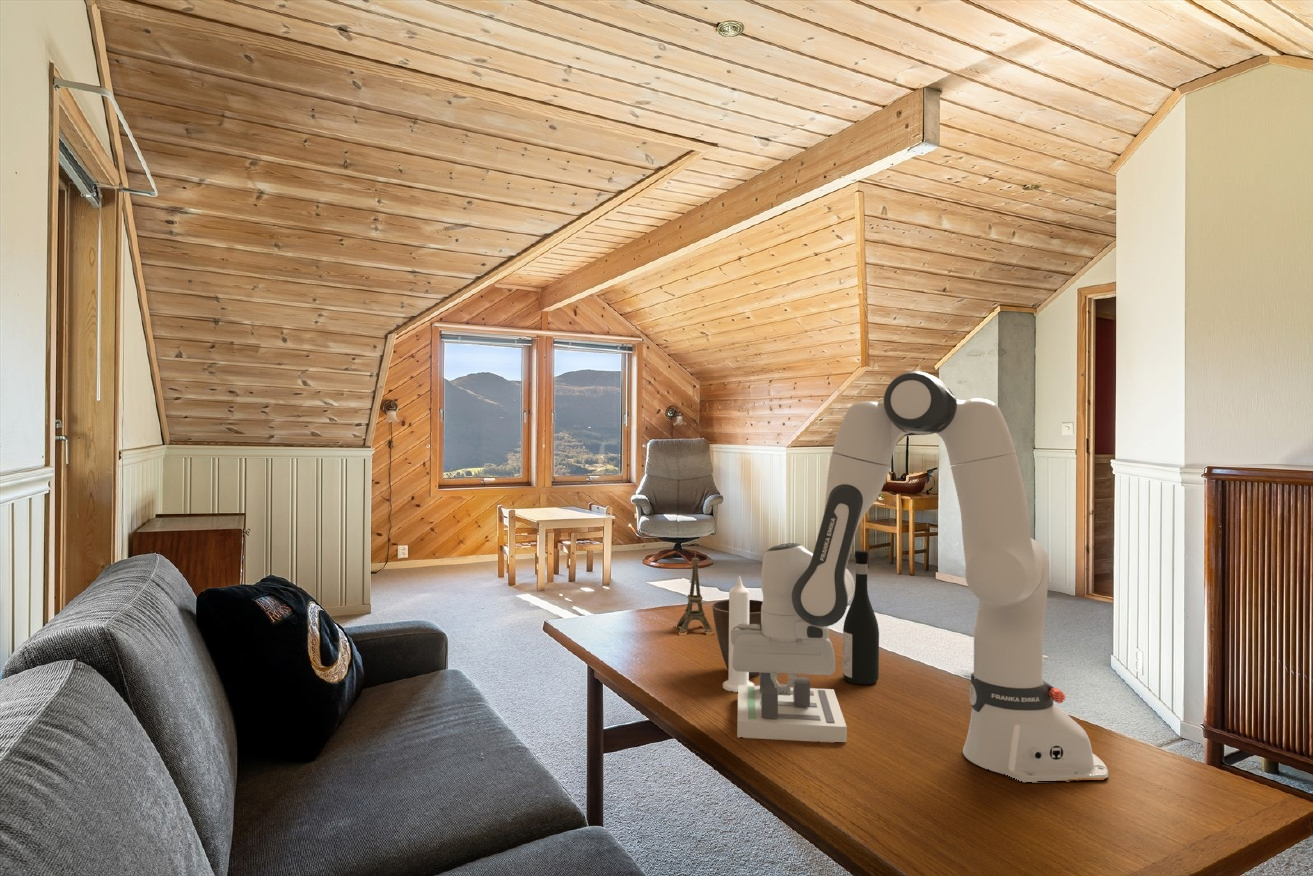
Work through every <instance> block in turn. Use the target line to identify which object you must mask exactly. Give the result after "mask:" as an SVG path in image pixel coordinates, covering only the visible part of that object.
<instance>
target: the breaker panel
mask: <svg viewBox="0 0 1313 876" xmlns="http://www.w3.org/2000/svg"><path fill="white" fill-rule="evenodd" d="M846 723H847V722H846V721H845V717H844V715H843V712H842V709H841V707H840V704H839V701H838V698H837V695H836V693H835V688H834V689H833V688H832V689H831V688H813V687H810V706H794V701H793V686H791V687H790V696H786V695H778V718H773V717H762V715H761V692H760V685H754V686H749V685H738V693H737V729H736V732H737V733H736V734H737V735H736V737H737V738H740V737H743V739H763V740H781V741H782V740H783V741H800V742H818V741H819V742H820V743H834V742H847V739H848V738H847V737H848V735H847V734H848V730H847V729H848V726H847V724H846ZM819 742H818V743H819ZM847 743H848V742H847Z"/></svg>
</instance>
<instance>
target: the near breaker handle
mask: <svg viewBox="0 0 1313 876" xmlns="http://www.w3.org/2000/svg"><path fill="white" fill-rule="evenodd" d="M761 715H762V717H773V718H778V691H777V687H761Z"/></svg>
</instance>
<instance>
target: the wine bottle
mask: <svg viewBox="0 0 1313 876" xmlns="http://www.w3.org/2000/svg"><path fill="white" fill-rule="evenodd" d="M854 558H855V593H854V596H853V598H852V599H851V604H849V605H850V606H849V608H848V611H847V613H846V616H845V618H844V622H843V628H842V676H843V678H844V680H845V681H847V682H849V683H852V684H854V685H855V684H856V685H862V686H864V685H872V684H874V683H877V682H878V680H879V674H880V673H879V670H880V666H879V665H880V658H879V657H880V653H879V652H880V651H879V650H880V629H879V624H878V620H877V616H876V615H875V612H874V608H873V605H872V604H871V601H870V597H869V593H868V592H869V590H868V568H869V567H868V563H869V562H868V561H869V560H868V559H869V551H867V550H864V549H860V550H859V549H857V550H855V551H854Z"/></svg>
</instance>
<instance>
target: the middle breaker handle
mask: <svg viewBox="0 0 1313 876" xmlns="http://www.w3.org/2000/svg"><path fill="white" fill-rule="evenodd" d="M792 687H793V701H794V706H810V688H811V683H810V679H809V677H806V676H805V677H803V676H796V680H795V682H794V683H793V685H792Z"/></svg>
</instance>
